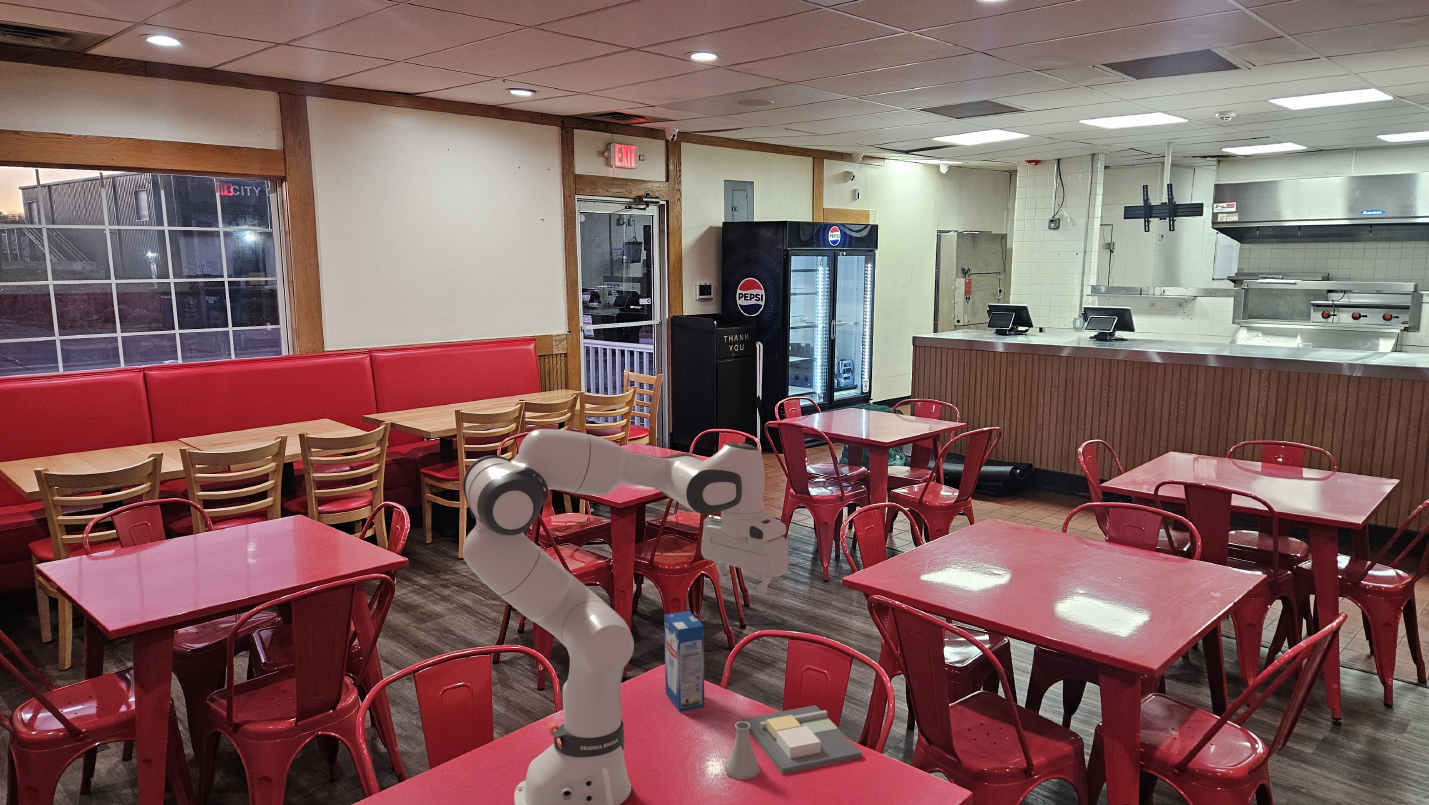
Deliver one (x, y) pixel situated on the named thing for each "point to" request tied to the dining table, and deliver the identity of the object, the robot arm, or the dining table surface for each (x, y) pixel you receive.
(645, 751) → the dining table surface
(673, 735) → the dining table surface
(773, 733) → the stub
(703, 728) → the dining table surface
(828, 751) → the ticket board
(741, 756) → the flask
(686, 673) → the milk carton
